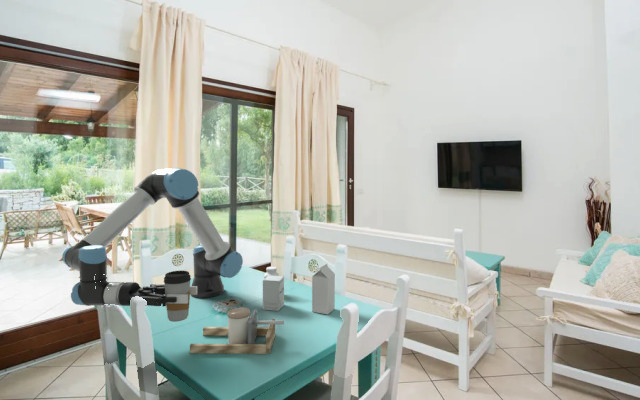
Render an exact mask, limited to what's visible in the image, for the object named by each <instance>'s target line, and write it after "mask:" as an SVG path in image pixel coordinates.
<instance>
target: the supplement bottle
mask: <svg viewBox="0 0 640 400" xmlns="http://www.w3.org/2000/svg"><path fill="white" fill-rule="evenodd" d="M263 275H264V276H263V277H264V279H265V278H266V277H267V276H280V274H279V273H278V272H277V266H267V267H266V272H265V273H264V274H263ZM264 279H263V280H264Z"/></svg>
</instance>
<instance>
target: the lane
mask: <svg viewBox="0 0 640 400" xmlns="http://www.w3.org/2000/svg"><path fill="white" fill-rule="evenodd" d="M271 320H272V321H276V318H271ZM202 336H228V326H203V328H202ZM257 336H258V337H259V336H262V337H264V336H265V343H254V344H229V343H191V344H189V353H190V354H241V355H242V354H248V355H249V354H252V355H253V354H259V355H261V354H271V352H272V351H271V350H272V347H273V344H274V341H275V336H276V324H269V326H267V327H266V326H257Z"/></svg>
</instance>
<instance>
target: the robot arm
mask: <svg viewBox="0 0 640 400" xmlns="http://www.w3.org/2000/svg"><path fill="white" fill-rule="evenodd" d="M198 187H199V181H198V179H197V176H196V175H195V174H194V173H193V172H192V171H191V170H188V169H184V168H181V167H175V168H159V169H156V170H154V171H152V172H150V174H149V175H147V176H146V177H145V178H144V179H142V180H141V182H139V183H138V184H137V185H136V186H134V188H133V190H134V191H133V192H132V193H131V194H130V195H129V196H127V198H126V199H125V200H124V201H123V202H121V204H119V205H118V206H117V207H116V208H115V209H114V210H112V212H110V214H109V215H108V216H107V217H105V218H104V219H103V220H102V221H101V222H100V223H99V224H98V225H96V227H94V228H93V229H92V230H91V231H90V232H89V233H88V234H87V235H86V236H84V237H83V238H82V239H81V240H80V241H79V242H78V243H77V244H76V245H73V246H69V247H67V248H66V249H65V250H64V251H63V253H62V256H61V257H62V262H63V263H64V264H65V265H66V266H67V267H68V268H71V269H73V270H75V271H78V272H79V282H77V283H75V284H74V285H73V287H72V290H71V293H70V300H71V301H72V303H74V305H79V306H87V307H89V306H90V307H91V306H105V305H104V304H108V305H107V306H111V305H110V304H115V305H119V306H122V307H125V306H127V307H131V306H130V300H131V298H132V297H135V296H139V297H142V298H143V299H145V300H146V301H147V305H146V306H148V307H161V306H162V307H166V303H182V304H187V303H188V294H167V297H166V296H165V283H164V284H153V283H151V284H149V286H142V287H141V286H140V284H139V283H138V282H134V281H131V282H130V281H128V282H127V281H108V273H107V272H108V270H107V269H108V267H107V265H108V262H107V259H108V255H107V247H108V246H109V245H110V244H111V243H112V242H113V241H114V240H115V239H116V238H117V237H118V236H119V235H120V234H121V233H123V231H125V230H126V228H127V227H129V226H130V225H131V223H133V221H135V220H136V219H137V218H138V217H139V216H140V215H141V214H142V213H143V212H144V211H145V210H146V209H147V208H148V207H149V206H150V205H152V206H154V205H155V204H156V203H157V202H159V201H160V200H162V199H163V198H165V199H167V201H168V203H169V204H170V206H171V208H173V209H177V210H178V211H179V212H180V214H181V215H182V216H183V218H184V221H185V222H186V223H187V225H188V227H189V229H191V231H192V232H193V234H194V236H195V237H196V238H197V241H198V242H199V243H200V245H199V244H198V245H195V247H193V251H192V255H193V280H192V283H191V285H190V296H191V297H194V298H198V299H199V298H200V299H202V298H203V299H204V298H213V297H216V296H217V297H218V296H219V295H222V294H223V293H224V292H225V289H224V288H225V285H224V284H223V280H222V278H228V279H229V278H233V277H236V275H238V274H239V273H240V272H241V270H242V268H243V262H244V260H243V256H242V254H241V253H239V252H238V251H235V250H234V249H233V248H232V246H231V244H230V243H229V242H228V241H224V239H223V238H222V236H221V234H220V233H219V231H218V229H217V228H216V226H215V224H214V223H213V221H212V220H211V218H210V216H209V214H208V212H207V211H206V209H205V208H204V206H203V205H202V203H201V201H200V200H199V197H200V192H199V188H198ZM95 274H96V275H95ZM103 274H105V275H103ZM106 275H107V277H106ZM94 276H95V280H94ZM106 279H107V281H106ZM100 281H101V282H100ZM95 282H96V283H95ZM95 286H96V289H95ZM107 287H108V288H107ZM108 289H109V290H108Z"/></svg>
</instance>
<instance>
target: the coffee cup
mask: <svg viewBox="0 0 640 400" xmlns="http://www.w3.org/2000/svg"><path fill="white" fill-rule="evenodd" d="M191 279H192V278H191V275H190V272H189V271H187V270H174V271H169V272H166V273H165V275H164V277H163V283H164V284H165V296H166V297H167V294H188V303H187V304H182V303H166V306H165V308H166V314H167V319H168V321H170V322H173V323H174V322H176V323H177V322H182V321H185V320H187V318H188V317H189V311H190V298H191V297H190V296H191V295H190V286H191Z"/></svg>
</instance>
